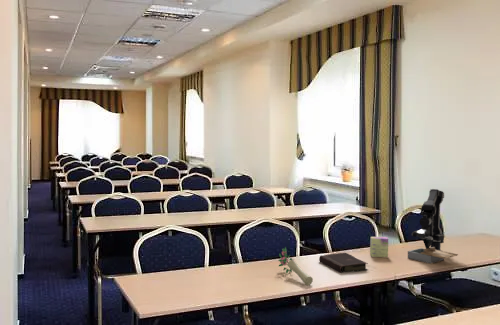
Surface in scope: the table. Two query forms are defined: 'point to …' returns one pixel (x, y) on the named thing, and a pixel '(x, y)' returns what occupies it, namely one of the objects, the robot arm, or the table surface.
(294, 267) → the flower vase
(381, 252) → the box
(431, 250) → the lid
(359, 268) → the diary
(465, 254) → the table surface
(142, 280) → the table surface
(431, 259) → the base
